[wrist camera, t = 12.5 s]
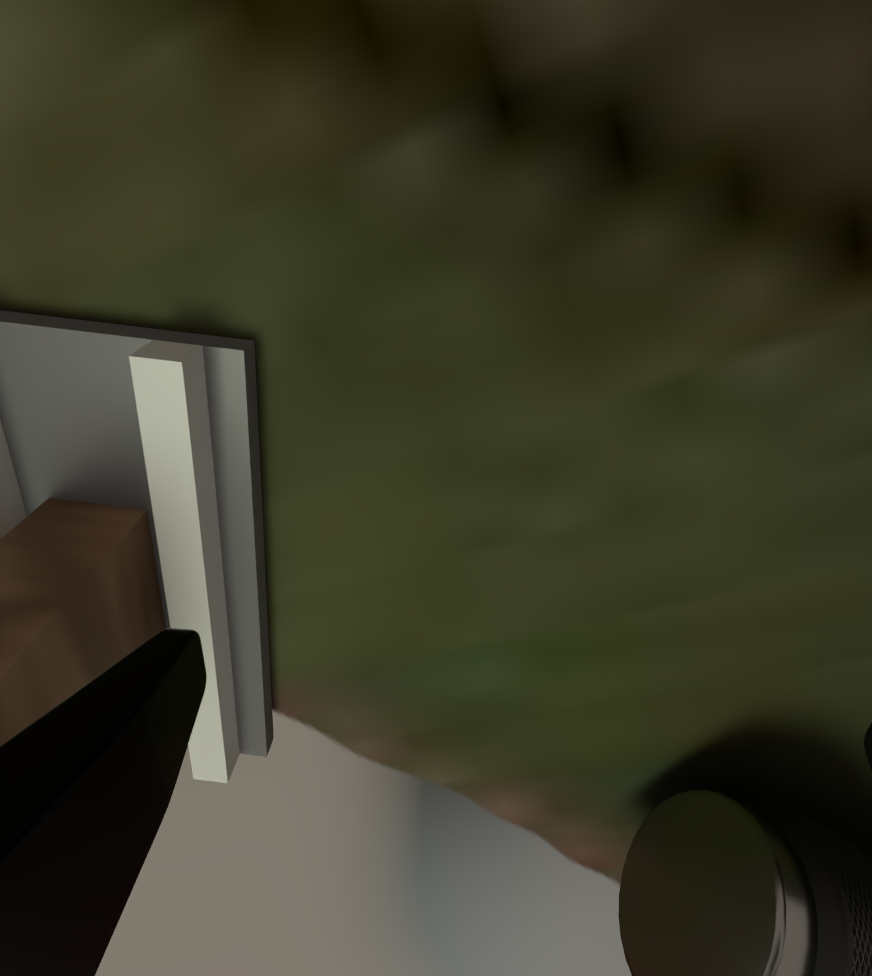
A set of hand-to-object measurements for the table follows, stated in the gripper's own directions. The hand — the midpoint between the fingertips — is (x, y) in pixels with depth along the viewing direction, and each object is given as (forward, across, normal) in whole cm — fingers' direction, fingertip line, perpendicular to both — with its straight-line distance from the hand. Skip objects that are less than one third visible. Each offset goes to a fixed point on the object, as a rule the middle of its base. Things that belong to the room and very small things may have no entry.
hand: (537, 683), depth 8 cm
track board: (+13, +14, +10) cm, 21 cm away
